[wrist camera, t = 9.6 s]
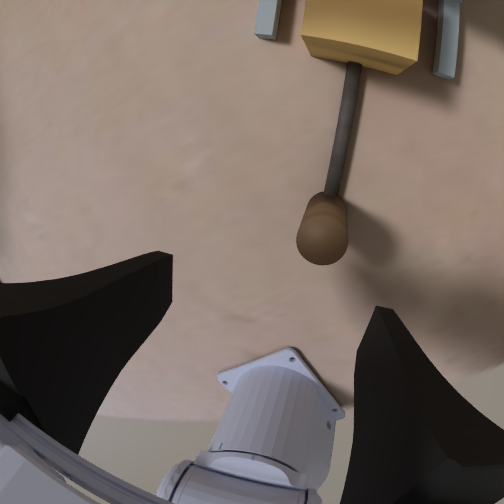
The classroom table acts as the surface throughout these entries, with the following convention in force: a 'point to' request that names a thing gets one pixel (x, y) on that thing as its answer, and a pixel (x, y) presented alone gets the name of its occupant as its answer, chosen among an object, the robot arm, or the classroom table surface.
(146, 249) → the classroom table surface
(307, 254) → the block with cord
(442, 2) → the shelf
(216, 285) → the classroom table surface
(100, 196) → the classroom table surface
